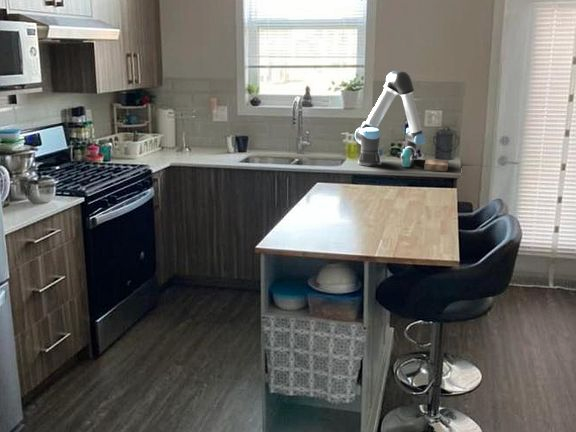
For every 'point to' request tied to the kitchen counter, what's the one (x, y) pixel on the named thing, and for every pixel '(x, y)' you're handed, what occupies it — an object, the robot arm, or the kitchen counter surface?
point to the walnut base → (436, 165)
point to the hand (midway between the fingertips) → (405, 158)
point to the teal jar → (406, 158)
